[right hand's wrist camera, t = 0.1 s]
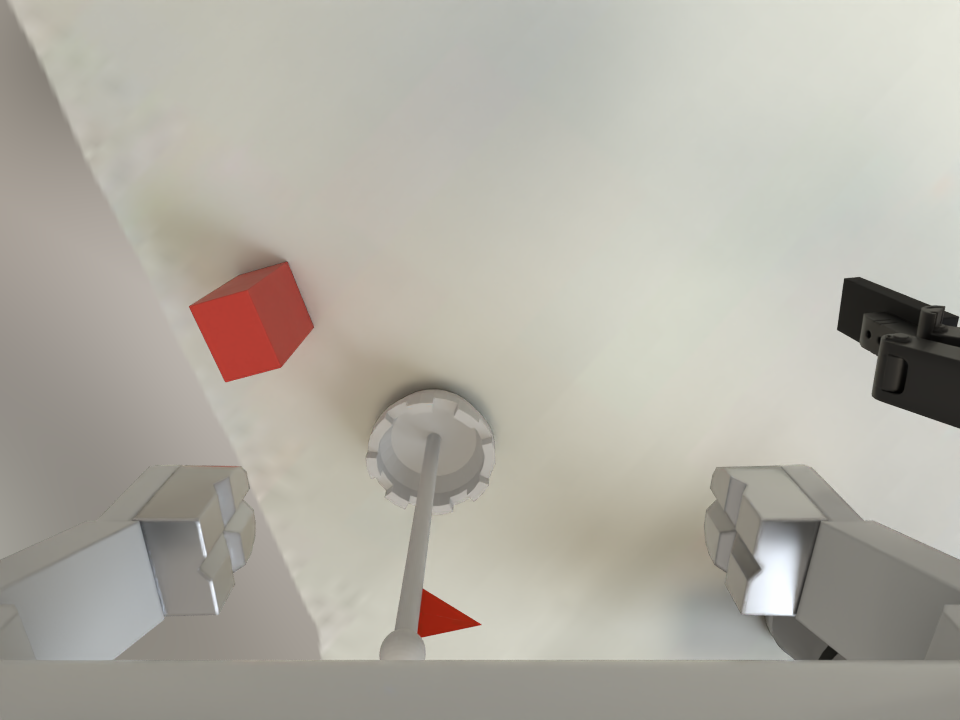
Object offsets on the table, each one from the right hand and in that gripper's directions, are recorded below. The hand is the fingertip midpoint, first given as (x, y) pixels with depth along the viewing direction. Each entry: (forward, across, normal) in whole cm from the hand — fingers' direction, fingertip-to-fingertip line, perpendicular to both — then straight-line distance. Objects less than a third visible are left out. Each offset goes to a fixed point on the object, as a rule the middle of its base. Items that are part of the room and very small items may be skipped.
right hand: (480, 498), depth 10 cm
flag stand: (+48, +5, +25) cm, 54 cm away
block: (+48, +20, +10) cm, 53 cm away
